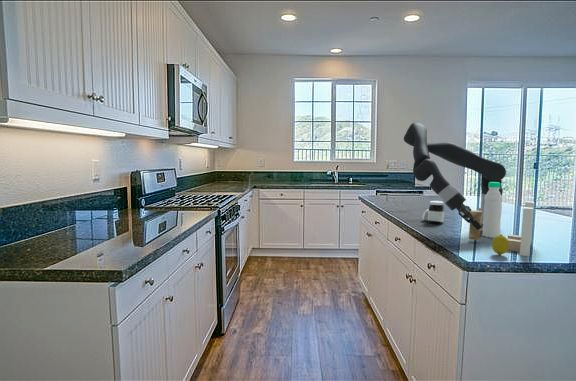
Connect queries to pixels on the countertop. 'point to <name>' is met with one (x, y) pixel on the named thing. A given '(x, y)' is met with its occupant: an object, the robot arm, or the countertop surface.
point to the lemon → (500, 244)
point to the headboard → (523, 232)
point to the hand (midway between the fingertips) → (480, 227)
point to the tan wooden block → (473, 231)
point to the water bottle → (492, 211)
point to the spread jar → (434, 213)
